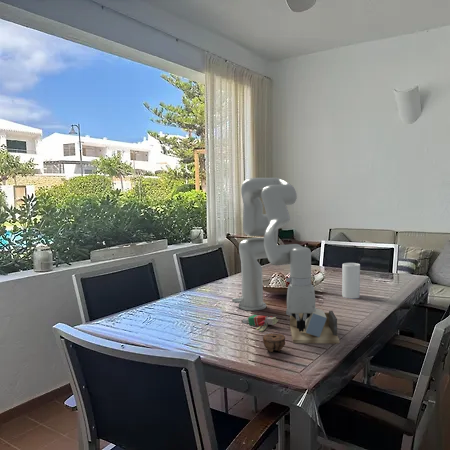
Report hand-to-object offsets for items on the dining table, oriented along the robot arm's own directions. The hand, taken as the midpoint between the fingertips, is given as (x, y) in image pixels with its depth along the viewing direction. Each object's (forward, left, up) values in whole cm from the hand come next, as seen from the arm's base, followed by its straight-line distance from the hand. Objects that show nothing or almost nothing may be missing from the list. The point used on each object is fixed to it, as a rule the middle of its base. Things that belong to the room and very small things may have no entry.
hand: (301, 330), depth 156 cm
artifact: (-10, -14, -3) cm, 17 cm away
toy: (-16, +13, -3) cm, 21 cm away
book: (+4, 0, 0) cm, 4 cm away
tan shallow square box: (+5, +1, -2) cm, 5 cm away
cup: (+30, +55, -3) cm, 63 cm away
